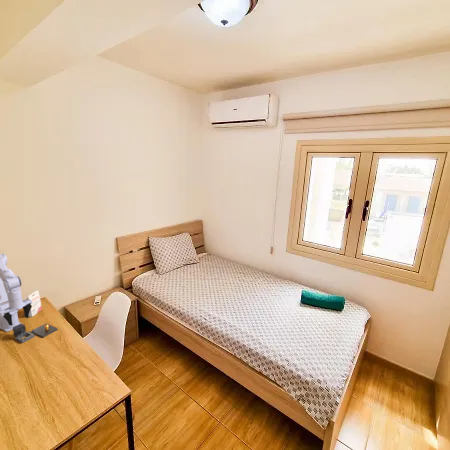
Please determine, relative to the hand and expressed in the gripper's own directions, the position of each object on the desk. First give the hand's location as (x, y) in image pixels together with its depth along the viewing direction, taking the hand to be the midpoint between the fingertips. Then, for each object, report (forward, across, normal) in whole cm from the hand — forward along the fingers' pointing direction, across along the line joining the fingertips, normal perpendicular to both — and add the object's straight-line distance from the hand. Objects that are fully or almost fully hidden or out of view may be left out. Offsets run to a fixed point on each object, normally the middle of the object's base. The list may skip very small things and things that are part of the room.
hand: (18, 321), depth 137 cm
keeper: (+9, +8, -7) cm, 14 cm away
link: (+9, 0, -2) cm, 10 cm away
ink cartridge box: (+10, +16, +19) cm, 27 cm away
